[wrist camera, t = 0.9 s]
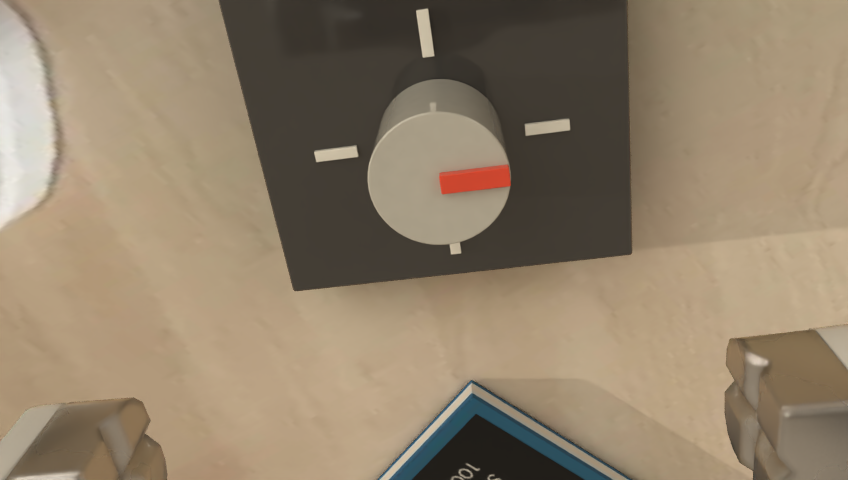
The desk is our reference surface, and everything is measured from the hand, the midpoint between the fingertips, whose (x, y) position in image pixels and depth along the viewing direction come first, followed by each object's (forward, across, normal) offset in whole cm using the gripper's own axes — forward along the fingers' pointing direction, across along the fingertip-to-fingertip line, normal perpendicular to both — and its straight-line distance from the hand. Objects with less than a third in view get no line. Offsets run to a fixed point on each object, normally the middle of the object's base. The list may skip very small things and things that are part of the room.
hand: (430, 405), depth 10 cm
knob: (+14, 0, +1) cm, 14 cm away
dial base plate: (+17, 0, -1) cm, 17 cm away
